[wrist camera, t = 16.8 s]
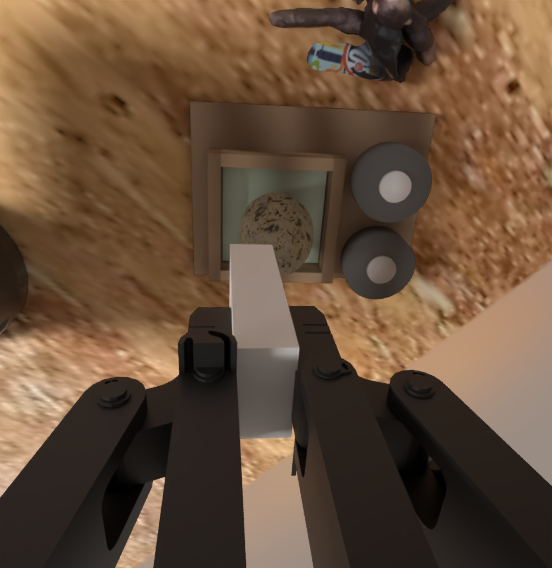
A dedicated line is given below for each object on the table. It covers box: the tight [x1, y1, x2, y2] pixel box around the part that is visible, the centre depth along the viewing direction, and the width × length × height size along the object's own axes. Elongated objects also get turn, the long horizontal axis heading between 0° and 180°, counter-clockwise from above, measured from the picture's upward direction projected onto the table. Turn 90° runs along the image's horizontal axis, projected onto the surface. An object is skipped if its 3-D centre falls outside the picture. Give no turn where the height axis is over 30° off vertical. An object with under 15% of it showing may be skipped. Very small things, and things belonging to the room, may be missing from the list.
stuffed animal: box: [269, 0, 454, 83], centre depth 35 cm, size 12×10×12 cm
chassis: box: [190, 101, 436, 299], centre depth 39 cm, size 20×15×6 cm
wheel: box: [350, 141, 432, 223], centre depth 37 cm, size 6×6×3 cm
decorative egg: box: [239, 193, 314, 276], centre depth 36 cm, size 6×6×10 cm
